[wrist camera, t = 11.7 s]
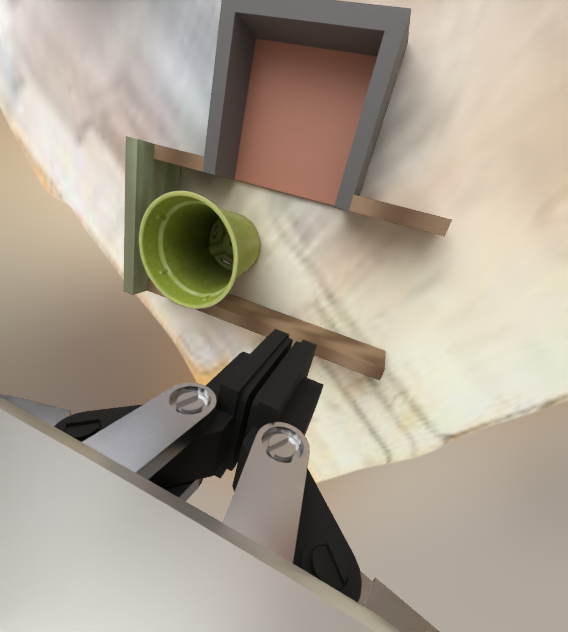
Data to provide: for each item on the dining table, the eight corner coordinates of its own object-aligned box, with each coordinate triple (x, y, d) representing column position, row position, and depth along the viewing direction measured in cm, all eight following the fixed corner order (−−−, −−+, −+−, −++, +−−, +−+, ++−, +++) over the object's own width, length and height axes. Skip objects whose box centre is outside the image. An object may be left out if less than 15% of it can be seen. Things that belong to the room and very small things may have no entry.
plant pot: (291, 221, 29) (254, 225, 21) (256, 301, 33) (215, 328, 25) (212, 180, 30) (151, 169, 22) (188, 261, 34) (129, 276, 27)
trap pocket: (407, 41, 22) (411, 8, 18) (354, 210, 27) (348, 210, 23) (247, 20, 25) (223, -12, 21) (225, 176, 30) (202, 171, 26)
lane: (443, 218, 25) (457, 220, 19) (381, 360, 30) (378, 392, 25) (172, 149, 31) (126, 136, 25) (163, 279, 36) (123, 291, 31)
